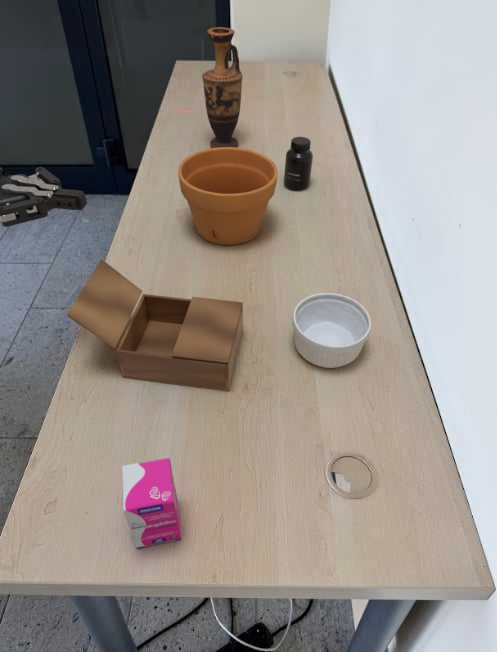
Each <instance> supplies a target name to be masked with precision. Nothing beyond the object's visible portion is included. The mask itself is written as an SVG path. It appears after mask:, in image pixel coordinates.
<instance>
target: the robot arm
mask: <svg viewBox="0 0 497 652" xmlns="http://www.w3.org/2000/svg"><path fill="white" fill-rule="evenodd" d="M86 196H87V195H86V192H84V191H83V190H77V189H67V188H66V189H65V188H63V187H62V184H61V181H60V179H59V177H57V176H56V175H54V174H53V173H52V172H50V171H49V170H47V169H46V168H45V167H43V166H39V167H36V168H35V174H31V175H26V174H23V173H18V174H10V173H8V172H7V171H6V170H4V169H3V168H2V167H0V223H1V224H2V227H4V228H7V227H8V228H9V227H11V226H15V225H19V224H24V223H28V222H31V221H35V220H40V219H43V218H47V217H48V216H49V213H48V212H55V211H58V209H59V210H71V211H83V210H84V208H85V207H86V206H87V204H88V201H87V197H86Z"/></svg>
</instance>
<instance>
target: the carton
mask: <svg viewBox="0 0 497 652" xmlns="http://www.w3.org/2000/svg"><path fill="white" fill-rule="evenodd" d="M139 299H140V300H138V304H137V305H136V307H135V309H134V311H133V313H132V315H131V317H130V319H129V323H128V324H127V326H126V328H125V330H124V332H123V333H124V334H122V336H121V338H120V341H119V343H118V345H117V347H116V350H115V353H116V354H115V355H116V358H117V362H118V365H119V369H120V372H121V375H122V376H121V377H122V378H123V379H132V380H138V381H139V380H140V381H147V382H155V383H162V384H167V385H169V384H170V385H177V386H184V387H193V388H200V389H208V390H214V391H222V392H230V391H231V390H230V389H231V384H232V380H233V376H234V372H235V367H236V364H237V358H238V355H239V350H240V345H241V342H242V338H243V337H242V336H243V333H244V304H243V301H234V300H226V299H218V298H207V297H200V296H199V297H198V296H192V297H191V298H184V297H183V298H182V297H173V296H172V297H171V296H165V295H156V294H149V293H148V294H146V293H143V294H141V296H140V298H139Z"/></svg>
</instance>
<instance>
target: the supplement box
mask: <svg viewBox="0 0 497 652" xmlns="http://www.w3.org/2000/svg"><path fill="white" fill-rule="evenodd" d="M121 488H122V507H123V513H124V517H125V519H126V522H127V525H128V527H129V530H130V533H131V536H132V539H133V542H134V544H135V548H136V549H142V548H145V547H149V546H155V545H160V544H165V543H171V542H177V541H181V540H182V530H181V519H180V510H179V502H178V496H177V490H176V483H175V477H174V473H173V468H172V462H171V458H170V457H169V458H168V457H166V458H159V459H153V460H148V461H143V462H142V461H141V462H136V463H131V464H124V465H121Z"/></svg>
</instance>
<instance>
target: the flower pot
mask: <svg viewBox="0 0 497 652" xmlns="http://www.w3.org/2000/svg"><path fill="white" fill-rule="evenodd" d="M278 171H279V170H278V167H277V165H276V164H275V162H274V161H273V160H272V159H271V158H269V157H268V156H266V155H264V154H262V153H260V152H258V151H255V150H252V149H248V148H243V147H237V148H236V147H220V148H211V147H210V148H206V149H202V150H198V151H196V152H193V153H192V154H190V155H188V156H187V157H185V158H184V159H183V160H182V161H181V162H180V163H179V165H178V168H177V177H178V183H179V187H180V192H181V195H182V197H183V198H184V199H185V201H186V202H187V204H188V207H189V211H190V213H191V216H192V219H193V222H194V225H195V227H196V231H197V232H198V234H199V235H200V236H201V237H202V238H203V239H204V240H206V241H208V242H210V243H212V244H216V245H222V246H235V245H241V244H245V243H247V242H248V241H251V240H252V239H253V238H255V237H257V235H258V233H259V231H260V228H261V225H262V222H263V221H264V216H265V213H266V210H267V208H268V205H269V202H270V200H272V198H273V196H274V195H275V192H276V187H277V181H278V175H279V172H278Z"/></svg>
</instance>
